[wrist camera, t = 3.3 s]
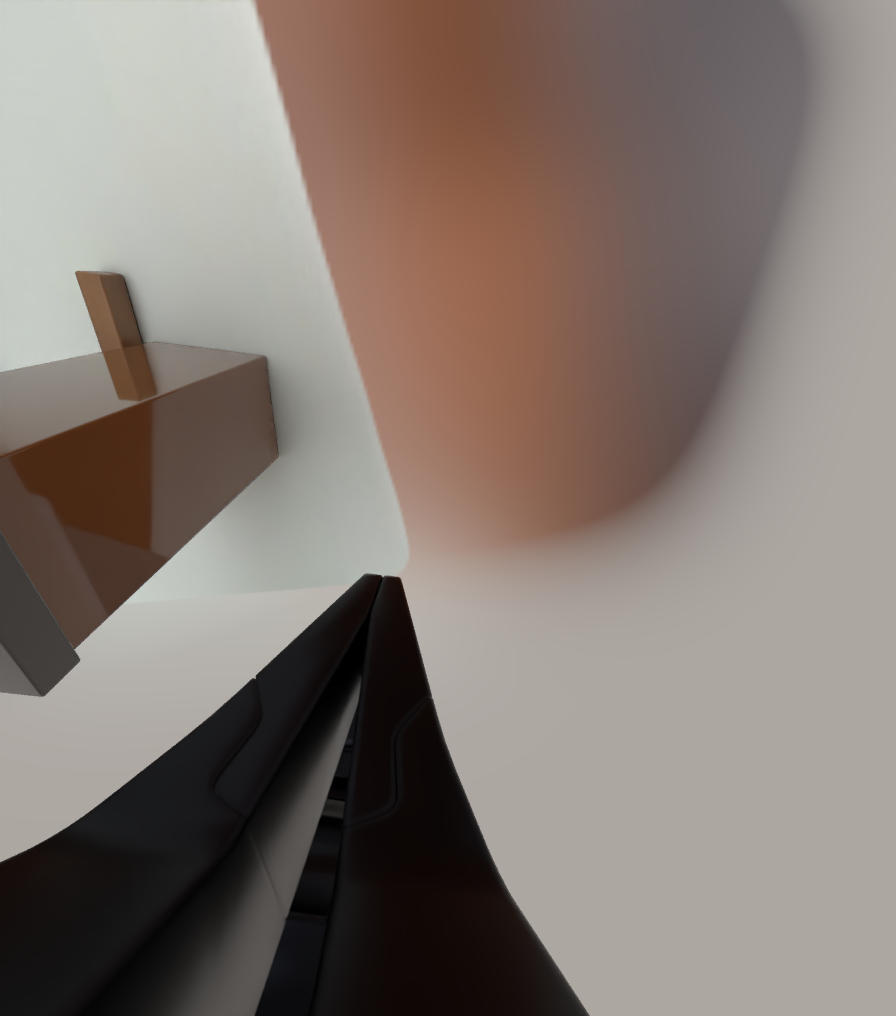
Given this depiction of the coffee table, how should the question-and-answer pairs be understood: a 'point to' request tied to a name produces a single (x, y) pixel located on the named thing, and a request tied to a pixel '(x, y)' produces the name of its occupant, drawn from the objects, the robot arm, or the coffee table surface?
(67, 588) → the brown capped block
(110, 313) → the stop
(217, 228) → the coffee table surface
